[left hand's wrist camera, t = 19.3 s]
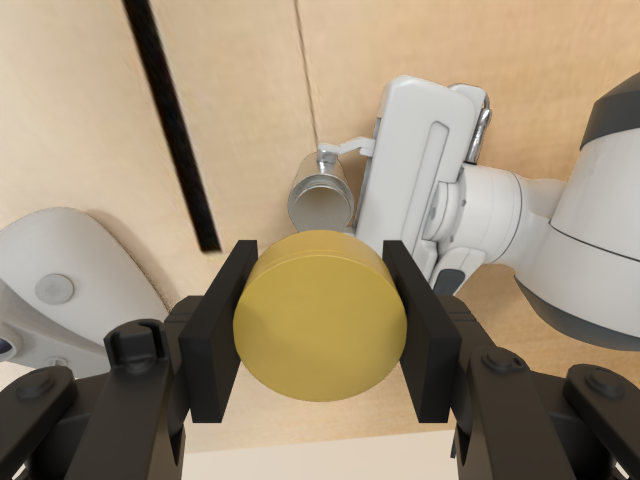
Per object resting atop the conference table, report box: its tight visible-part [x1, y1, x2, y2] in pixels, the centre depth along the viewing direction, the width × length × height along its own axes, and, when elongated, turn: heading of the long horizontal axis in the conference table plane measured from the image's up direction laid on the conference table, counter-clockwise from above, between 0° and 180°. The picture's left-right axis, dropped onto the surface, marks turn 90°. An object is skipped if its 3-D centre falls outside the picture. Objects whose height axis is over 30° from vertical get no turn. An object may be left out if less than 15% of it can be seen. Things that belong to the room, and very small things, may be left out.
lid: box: [233, 230, 407, 402], centre depth 11 cm, size 5×5×2 cm
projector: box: [0, 207, 169, 379], centre depth 35 cm, size 22×23×15 cm
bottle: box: [288, 152, 354, 233], centre depth 30 cm, size 5×5×16 cm
